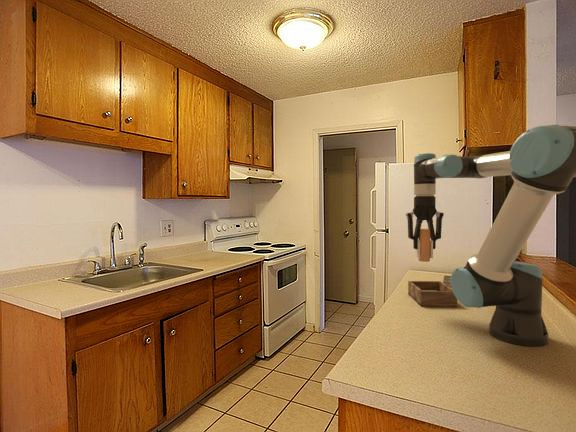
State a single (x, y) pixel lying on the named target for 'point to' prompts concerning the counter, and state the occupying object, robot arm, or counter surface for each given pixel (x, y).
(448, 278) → the stone
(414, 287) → the crate
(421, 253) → the peg
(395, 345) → the counter surface
